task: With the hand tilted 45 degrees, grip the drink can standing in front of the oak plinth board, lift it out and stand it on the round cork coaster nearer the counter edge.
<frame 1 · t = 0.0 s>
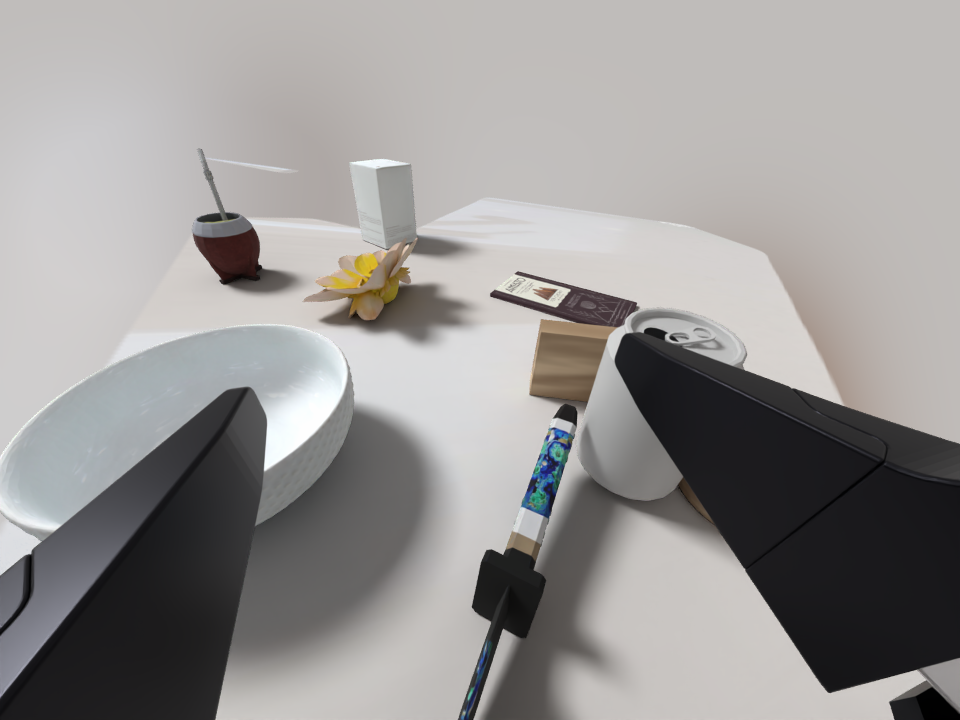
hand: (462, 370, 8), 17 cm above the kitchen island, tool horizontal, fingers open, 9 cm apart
coaster: (733, 488, 25), on the kitchen island
cereal bowl: (247, 464, 25), on the kitchen island
decorative flower: (374, 299, 45), on the kitchen island
supplement box: (390, 241, 63), on the kitchen island
can: (621, 463, 26), on the kitchen island
mate gourd: (242, 275, 49), on the kitchen island
chocolate bar: (561, 305, 47), on the kitchen island
knife: (472, 689, 16), on the kitchen island
plinth board: (604, 396, 32), on the kitchen island
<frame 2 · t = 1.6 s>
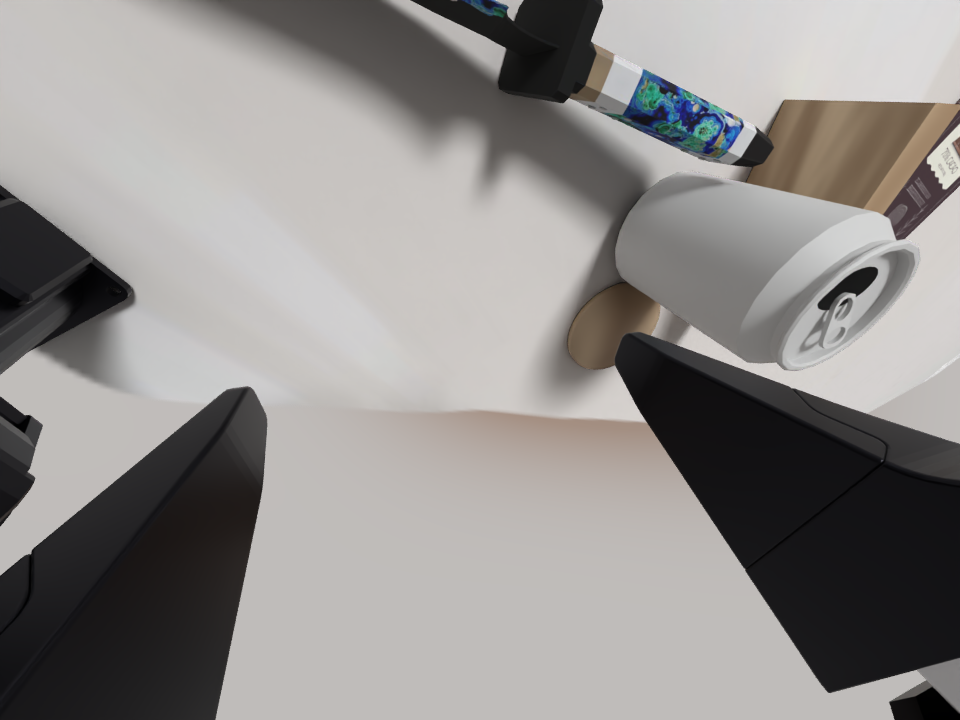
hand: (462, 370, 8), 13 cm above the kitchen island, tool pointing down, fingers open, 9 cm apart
coaster: (612, 327, 28), on the kitchen island
can: (653, 229, 23), on the kitchen island
chocolate bar: (919, 172, 28), on the kitchen island
knife: (448, 12, 14), on the kitchen island
plinth board: (738, 220, 25), on the kitchen island
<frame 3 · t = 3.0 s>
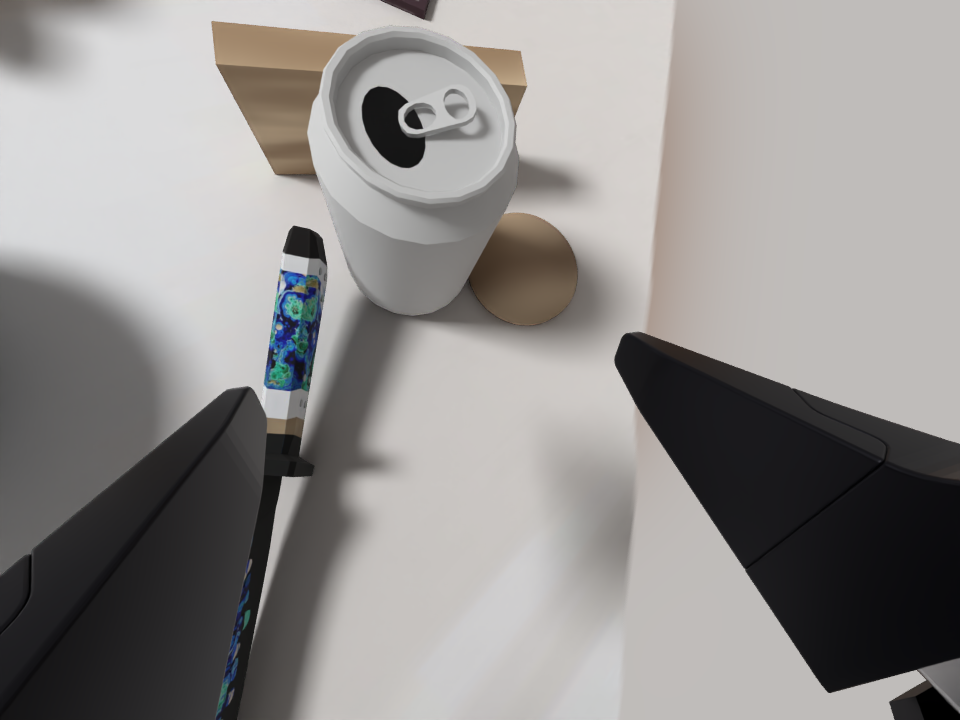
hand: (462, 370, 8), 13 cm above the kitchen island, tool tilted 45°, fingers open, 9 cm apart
coaster: (522, 270, 24), on the kitchen island
can: (409, 264, 22), on the kitchen island
knife: (272, 523, 19), on the kitchen island
plinth board: (389, 160, 23), on the kitchen island
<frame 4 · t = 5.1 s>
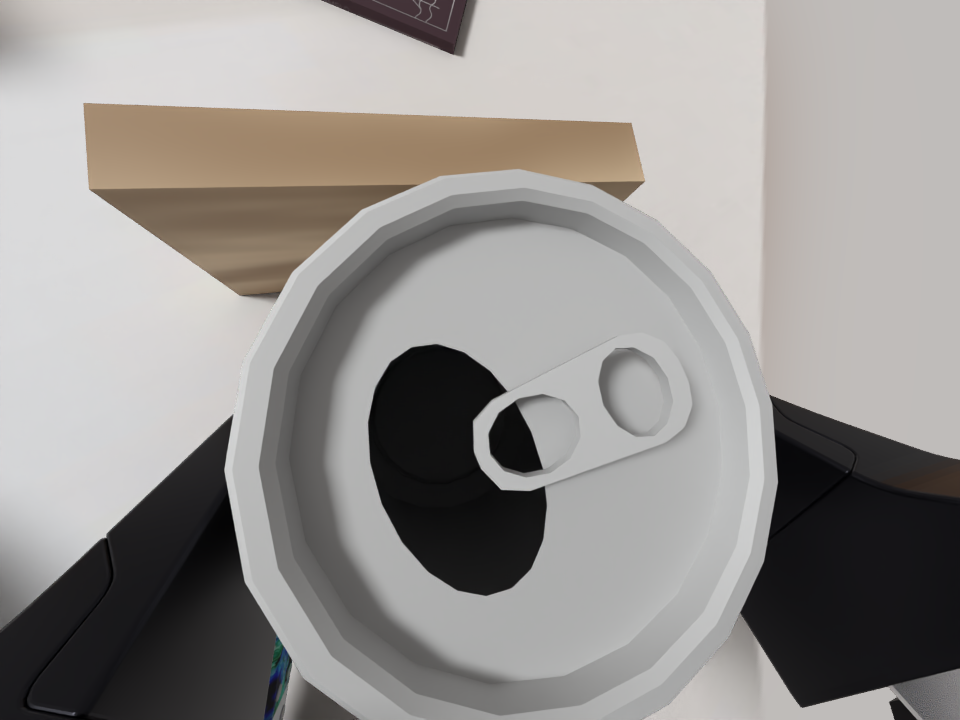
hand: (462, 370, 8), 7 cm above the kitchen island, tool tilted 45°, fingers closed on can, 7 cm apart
can: (439, 413, 15), on the kitchen island, touching gripper
plinth board: (408, 260, 16), on the kitchen island
when the fingers open (8 cm above the kitchen island, at t = 8.4 s): can stays where it is, resting on coaster.
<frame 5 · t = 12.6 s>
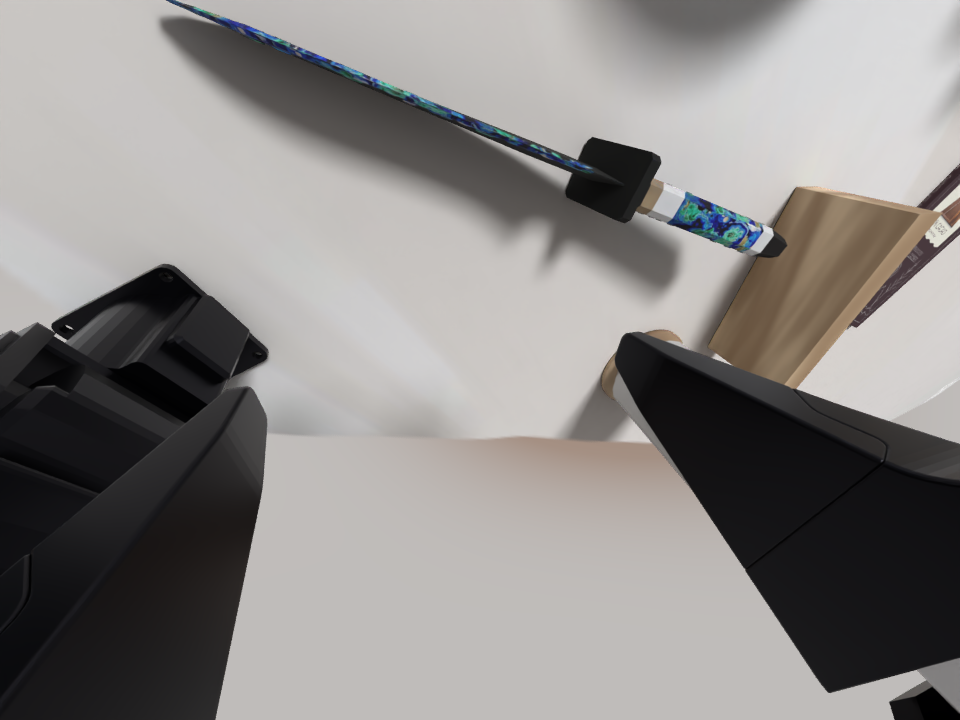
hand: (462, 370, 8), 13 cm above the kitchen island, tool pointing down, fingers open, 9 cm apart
coaster: (640, 366, 32), on the kitchen island
can: (642, 367, 31), resting on coaster
chocolate bar: (912, 233, 32), on the kitchen island
knife: (533, 146, 18), on the kitchen island
plinth board: (754, 278, 29), on the kitchen island
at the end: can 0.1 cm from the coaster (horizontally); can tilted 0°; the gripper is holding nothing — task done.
